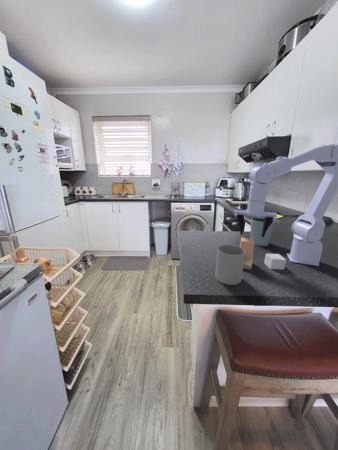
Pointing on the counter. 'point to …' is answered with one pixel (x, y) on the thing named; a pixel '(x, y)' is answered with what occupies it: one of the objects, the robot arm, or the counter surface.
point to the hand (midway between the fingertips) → (251, 235)
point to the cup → (229, 264)
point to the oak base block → (248, 263)
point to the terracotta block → (247, 246)
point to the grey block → (275, 261)
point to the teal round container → (257, 230)
